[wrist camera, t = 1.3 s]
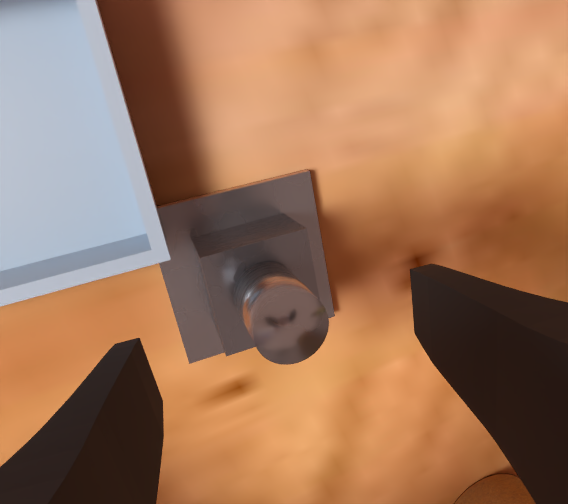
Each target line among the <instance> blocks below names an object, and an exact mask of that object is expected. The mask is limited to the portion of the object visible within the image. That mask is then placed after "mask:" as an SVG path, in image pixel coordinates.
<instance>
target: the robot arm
mask: <svg viewBox="0 0 568 504" xmlns="http://www.w3.org/2000/svg"><path fill="white" fill-rule="evenodd" d="M410 276H411V290H412V303H413V317H414V331H415V335H416V336H417V338H418V340H419V341H420V343H421V345H422V347H423V348H424V350H425V352H426V353H427V355H428V356H429V358H430V360H431V361H432V363H433V364H434V365H435V367H436V368H437V369H438V370H439V372H440V373H441V374H442V375H443V377H444V378H445V379H446V380H447V382H448V383H449V384H450V385H451V387H452V388H453V389H454V390H455V391H456V393H457V394H458V395H459V396H460V397H461V399H462V400H463V401H464V402H465V404H466V405H467V406H468V407H469V408H470V410H471V411H472V412H473V413H474V414H475V416H476V417H477V418H478V419H479V421H480V422H481V423H482V424H483V425H484V427H485V428H486V429H487V431H488V432H489V433H490V435H491V436H492V437H493V439H494V440H495V441H496V443H497V444H498V446H499V447H500V449H501V450H502V452H503V453H504V455H505V456H506V458H507V459H508V461H509V462H510V464H511V465H512V467H513V469H514V470H515V472H516V473H517V475H518V476H519V478H520V479H521V481H522V482H523V484H524V486H525V487H526V489H527V490H528V492H529V494H530V495H531V497H532V498H533V500H534V502H535V503H536V504H568V302H563V301H558V300H554V299H550V298H545V297H541V296H538V295H534V294H530V293H526V292H523V291H519V290H516V289H512V288H509V287H505V286H502V285H499V284H496V283H493V282H490V281H486V280H483V279H480V278H477V277H474V276H471V275H468V274H465V273H462V272H459V271H456V270H453V269H450V268H446V267H443V266H439V265H435V264H429V265H425V266H421V267H417V268H413V269H410ZM163 437H164V433H163V400H162V397H161V395H160V392H159V389H158V387H157V384H156V381H155V379H154V376H153V373H152V370H151V368H150V365H149V362H148V360H147V357H146V354H145V352H144V349H143V346H142V343H141V341H140V338H137V339H133V340H129V341H125V342H121V343H117V344H115V345H114V346H113V347H112V348H111V349H110V350H109V351H108V352H107V353H106V355H105V356H104V357H103V358H102V359H101V361H100V362H99V363H98V364H97V365H96V367H95V368H94V369H93V370H92V372H91V373H90V374H89V375H88V376H87V378H86V379H85V380H84V381H83V382H82V384H81V385H80V386H79V387H78V388H77V390H76V391H75V392H74V393H73V394H72V395H71V397H70V398H69V399H68V400H67V401H66V402H65V403H64V404H63V405H62V406H61V408H60V409H59V410H58V411H57V412H56V413H55V414H54V415H53V416H52V417H51V418H50V420H49V421H48V422H47V423H46V424H45V425H44V426H43V427H42V428H41V429H40V430H39V431H38V432H37V433H36V434H35V435H34V436H33V437H32V438H31V439H30V440H29V441H28V442H27V443H26V444H25V445H24V446H23V447H22V448H21V449H20V450H19V451H17V452H16V453H15V454H14V455H13V456H12V457H11V458H10V459H9V460H8V461H7V462H5V463H4V464H3V465H2V466H1V467H0V504H156V500H157V491H158V483H159V474H160V465H161V456H162V447H163Z"/></svg>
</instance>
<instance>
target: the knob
mask: <svg viewBox="0 0 568 504" xmlns="http://www.w3.org/2000/svg"><path fill="white" fill-rule="evenodd" d="M191 240H192V244H193V248H194V251H195V255H196V259H197V262H198V266H199V270H200V273H201V277H202V281H203V284H204V288H205V292H206V295H207V299H208V303H209V306H210V310H211V314H212V317H213V321H214V325H215V327H216V330H217V333H218V335H219V338H220V341H221V344H222V346H223V349H224V352H225V354H226V356H229V355H232V354H235V353H238V352H241V351H244V350H247V349H250V348H253V347H257V349H258V351H259V352H260V353H261V354H262V355H263V356H264V357H265V358H266V359H268V360H269V361H271V362H274V363H277V364H294V363H298V362H301V361H303V360H305V359H307V358H309V357H310V356H311V355H313V354H314V353H315V352H316V351H317V350H318V349H319V348H320V346H321V345H322V343H323V342H324V340H325V338H326V335H327V332H328V326H329V320H328V314H327V311H326V309H325V307H324V305H323V304H322V303H321V301H320V298H319V293H318V287H317V282H316V276H315V271H314V265H313V260H312V254H311V249H310V243H309V238H308V232H307V228H305V227H304V226H302V225H301V224H299V223H298V222H296V221H295V220H293V219H292V218H290V217H289V216H287V215H286V214H284V213H282V214H278V215H274V216H270V217H267V218H263V219H259V220H255V221H252V222H248V223H244V224H240V225H237V226H233V227H229V228H225V229H222V230H218V231H214V232H210V233H207V234H203V235H199V236H195V237H192V238H191Z"/></svg>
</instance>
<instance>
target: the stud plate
mask: <svg viewBox="0 0 568 504" xmlns="http://www.w3.org/2000/svg"><path fill="white" fill-rule="evenodd" d="M157 210H158V213H159V217H160V220H161V224H162V227H163V231H164V234H165V237H166V241H167V245H168V249H169V254H170V258H171V260H168V261H164V262H161V263H159V264H160V268H161V271H162V274H163V278H164V281H165V284H166V288H167V291H168V294H169V297H170V301H171V304H172V307H173V311H174V314H175V317H176V321H177V324H178V327H179V331H180V334H181V337H182V341H183V344H184V347H185V350H186V354H187V357H188V360H189V364H190V363H193V362H196V361H199V360H202V359H205V358H208V357H211V356H215V355H218V354H221V353H224V349H223V346H222V344H221V341H220V338H219V335H218V333H217V330H216V327H215V325H214V321H213V317H212V314H211V310H210V306H209V303H208V299H207V295H206V292H205V288H204V284H203V281H202V277H201V273H200V270H199V266H198V262H197V259H196V255H195V251H194V248H193V244H192V240H191V238H192V237H195V236H199V235H203V234H207V233H210V232H214V231H218V230H222V229H225V228H229V227H233V226H237V225H240V224H244V223H248V222H252V221H255V220H259V219H263V218H267V217H270V216H274V215H278V214H282V213H284V214H286V215H287V216H289V217H290V218H292V219H293V220H295V221H296V222H298V223H299V224H301V225H302V226H304V227H305V228H307V232H308V238H309V243H310V249H311V254H312V260H313V265H314V271H315V276H316V282H317V287H318V293H319V298H320V301H321V303H322V304H323V305H324V307H325V309H326V311H327V314H328V318H331V317H334V316H335V314H334V309H333V303H332V297H331V291H330V285H329V280H328V274H327V268H326V262H325V256H324V251H323V245H322V239H321V233H320V227H319V222H318V216H317V210H316V204H315V198H314V193H313V187H312V181H311V175H310V171H309V170H302V171H298V172H294V173H290V174H286V175H281V176H277V177H273V178H269V179H265V180H261V181H257V182H253V183H249V184H245V185H241V186H237V187H233V188H229V189H225V190H221V191H217V192H213V193H209V194H204V195H200V196H196V197H192V198H188V199H184V200H180V201H176V202H172V203H168V204H164V205H160V206H157Z"/></svg>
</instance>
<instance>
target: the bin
mask: <svg viewBox="0 0 568 504" xmlns="http://www.w3.org/2000/svg"><path fill="white" fill-rule="evenodd" d="M168 260H171V258H170V254H169V249H168V245H167V241H166V237H165V234H164V231H163V227H162V224H161V220H160V217H159V213H158V210H157V206H156V202H155V199H154V196H153V192H152V189H151V185H150V182H149V178H148V175H147V172H146V168H145V165H144V161H143V158H142V154H141V151H140V148H139V144H138V141H137V137H136V134H135V130H134V127H133V123H132V120H131V117H130V113H129V110H128V106H127V103H126V99H125V96H124V93H123V89H122V86H121V82H120V79H119V75H118V72H117V68H116V65H115V62H114V58H113V55H112V51H111V48H110V44H109V41H108V38H107V34H106V31H105V27H104V24H103V20H102V17H101V14H100V10H99V7H98V3H97V0H0V306H4V305H8V304H11V303H15V302H18V301H22V300H26V299H29V298H33V297H37V296H40V295H44V294H48V293H51V292H55V291H59V290H62V289H66V288H70V287H73V286H77V285H80V284H84V283H88V282H91V281H95V280H99V279H102V278H106V277H110V276H113V275H117V274H121V273H124V272H128V271H132V270H135V269H139V268H143V267H146V266H150V265H153V264H157V263H161V262H164V261H168Z"/></svg>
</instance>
